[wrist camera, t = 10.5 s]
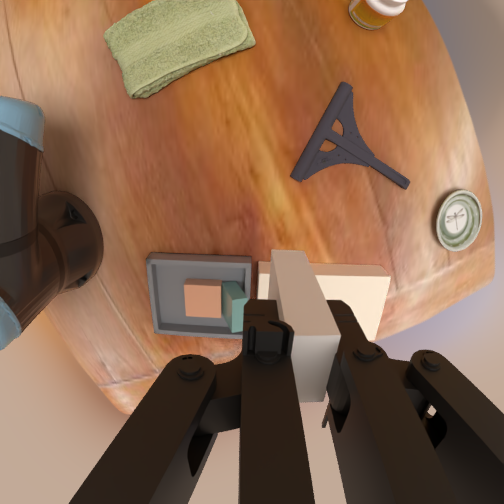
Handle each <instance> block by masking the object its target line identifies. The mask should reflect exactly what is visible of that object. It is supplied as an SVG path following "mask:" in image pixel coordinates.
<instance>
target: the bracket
mask: <svg viewBox="0 0 504 504" xmlns="http://www.w3.org/2000/svg"><path fill="white" fill-rule="evenodd" d="M352 89H353V87H352V86H351V85H349V84H348V83H346V82H341V84H340V86H339V87H338V89H337V91H336V93H335V95H334V97H333V98H332V100H331V102H330V104H329V106H328V107H327V109H326V111H325V113H324V115H323V117H322V118H321V120H320V122H319V124H318V126H317V128H316V129H315V131H314V133H313V135H312V137H311V138H310V140H309V142H308V144H307V146H306V148H305V149H304V151H303V153H302V155H301V157H300V159H299V160H298V162H297V164H296V166H295V168H294V170H293V171H292V173H291V175H290V176H291V177H292V178H294V179H296V180H298V181H300V182H302V180H303V179H304V180H306V179H308V178H309V177H310V176H312V175H313V174H315V173H316V172H318V171H320V170H322V169H324V168H326V167H329V166H332V165H335V164H340V163H353V164H359V165H363V166H367V167H369V166H371V167H373V168H374V169H376V170H377V171H379V172H380V173H381V174H383V175H384V176H386V177H387V178H389V179H390V180H392V181H393V182H395V183H396V184H397V185H399V186H400V187H402V188H403V189H405V190H406V189H407V187H408V186H409V184H410V181H409V180H408V179H407V178H406V177H404V176H403V175H401V174H400V173H398V172H397V171H395V170H394V169H392V168H390V167H389V166H387V165H386V164H384V163H383V162H381V161H380V160H378V159H377V158H375V157H374V156H375V155H374V154H373V152H372V151H371V150H370V149H369V148H368V146H367V145H366V144H365V142H364V141H363V139H362V137H361V135H360V134H359V131H358V128H357V125H356V122H355V118H354V112H353V92H351V91H352ZM336 118H337V119H338V120H339V121H340V122H341V124H342V126H343V136H341V135H339V134H338V133H336V132H335V131H333V130H332V129H331V128H332V126H333V124H334V122H335V120H336ZM350 132H351V134H350ZM325 139H327V140H329V141H331V142H333V143H334V144H336V145H337V147H336V148H335V149H334V150H332V151H330V152H323V151H320V150H319V149H320V147H321V146H322V144H323V142H324V141H325ZM338 155H339V156H338Z"/></svg>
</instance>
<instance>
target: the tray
mask: <svg viewBox="0 0 504 504" xmlns="http://www.w3.org/2000/svg"><path fill="white" fill-rule="evenodd" d="M146 266H147V276H148V286H149V295H150V303H151V311H152V319H153V326H154V333H158V334H169V335H181V336H195V337H212V338H232V339H242V337H243V331H240V332H234V333H232V332H231V330H230V328H229V326H228V324H227V323H226V321H225V319H224V317H223V315H221V318H211V317H192V316H186V309H185V295H184V283H185V281H186V278H191V279H214V280H222V282H230V281H236V282H237V284H238V285H239V286H240V288H241V289H242V291H243V292H244V293H245V295H246V296H247V298H248V300H249V299H250V285H251V256H232V255H207V254H181V253H156V252H151V253H150V254H149V256H148V257H147V258H146ZM248 300H247V301H248Z"/></svg>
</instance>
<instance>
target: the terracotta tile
mask: <svg viewBox="0 0 504 504" xmlns="http://www.w3.org/2000/svg"><path fill="white" fill-rule="evenodd" d="M184 295H185V309H186V316H192V317H211V318H221V315H222V280H214V279H191V278H186V281H185V283H184Z"/></svg>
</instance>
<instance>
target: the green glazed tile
mask: <svg viewBox="0 0 504 504" xmlns="http://www.w3.org/2000/svg"><path fill="white" fill-rule="evenodd" d="M247 300H248V298H247V296H246V295H245V293H244V292H243V291H242V289H241V288H240V286H239V285H238V284H237V282H236V281H230V282H222V315H223V317H224V319H225V321H226V323H227V324H228V326H229V328H230V330H231V332H232V333H234V332H240V331H243V311H244V305H245V304H246V302H247Z"/></svg>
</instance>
